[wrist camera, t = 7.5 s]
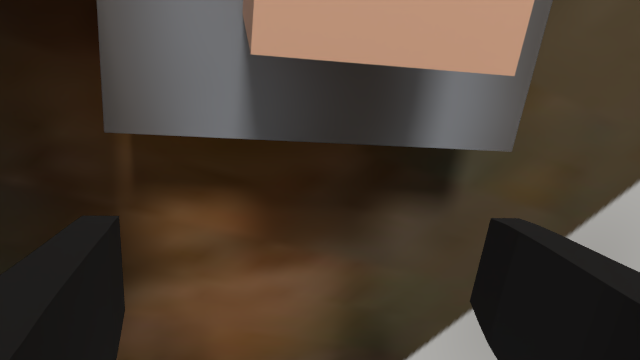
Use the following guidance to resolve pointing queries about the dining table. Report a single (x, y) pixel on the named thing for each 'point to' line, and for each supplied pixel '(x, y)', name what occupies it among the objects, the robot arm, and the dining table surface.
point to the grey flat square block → (291, 85)
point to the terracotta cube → (393, 32)
